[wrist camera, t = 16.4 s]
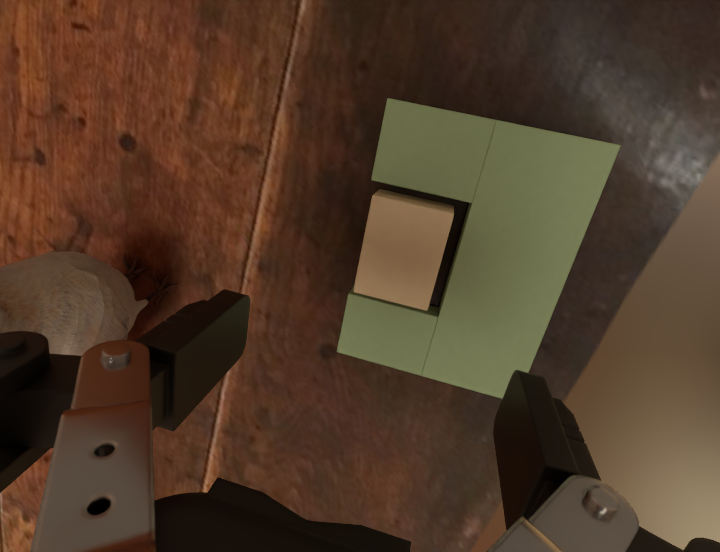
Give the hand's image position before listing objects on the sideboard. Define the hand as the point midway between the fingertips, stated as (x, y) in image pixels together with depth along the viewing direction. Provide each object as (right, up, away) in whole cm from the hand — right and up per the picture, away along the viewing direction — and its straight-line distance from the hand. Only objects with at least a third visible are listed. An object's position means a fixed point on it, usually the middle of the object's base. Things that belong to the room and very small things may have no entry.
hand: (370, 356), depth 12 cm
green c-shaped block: (+6, +4, +13) cm, 15 cm away
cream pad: (+3, +4, +14) cm, 15 cm away
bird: (-16, +2, +19) cm, 25 cm away
